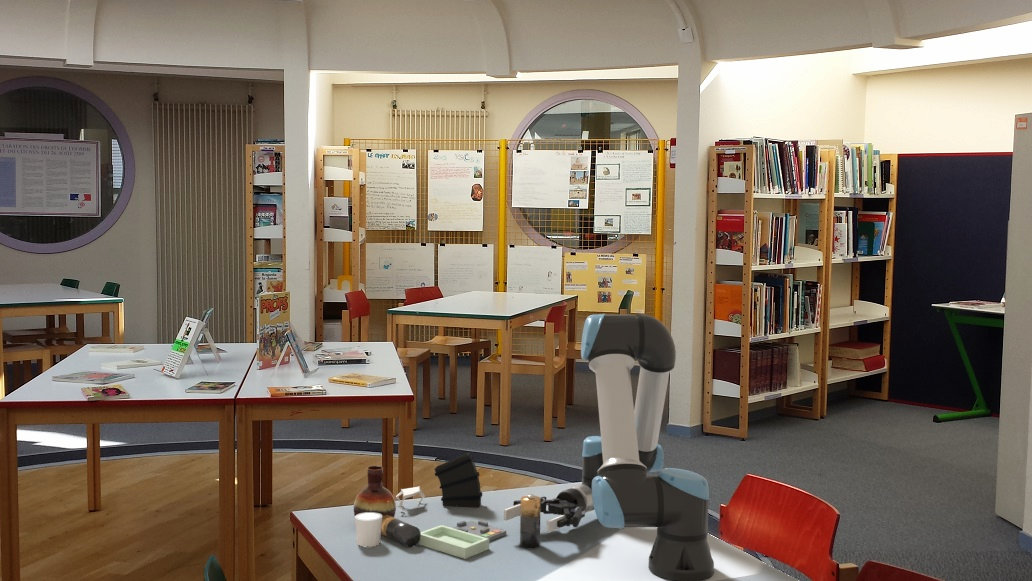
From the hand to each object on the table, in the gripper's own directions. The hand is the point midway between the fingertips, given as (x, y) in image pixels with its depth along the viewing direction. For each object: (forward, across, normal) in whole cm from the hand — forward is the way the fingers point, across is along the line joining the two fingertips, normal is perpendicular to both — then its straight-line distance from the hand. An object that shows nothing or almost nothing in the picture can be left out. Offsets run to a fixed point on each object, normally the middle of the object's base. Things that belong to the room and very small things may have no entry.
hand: (525, 520), depth 231 cm
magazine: (-14, +36, -7) cm, 39 cm away
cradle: (+1, +15, -6) cm, 17 cm away
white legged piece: (-3, +44, -7) cm, 45 cm away
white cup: (+24, +31, -7) cm, 40 cm away
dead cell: (+18, +27, -6) cm, 33 cm away
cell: (-1, 0, -6) cm, 7 cm away
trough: (+12, +14, -6) cm, 19 cm away
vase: (+14, +40, -7) cm, 43 cm away
